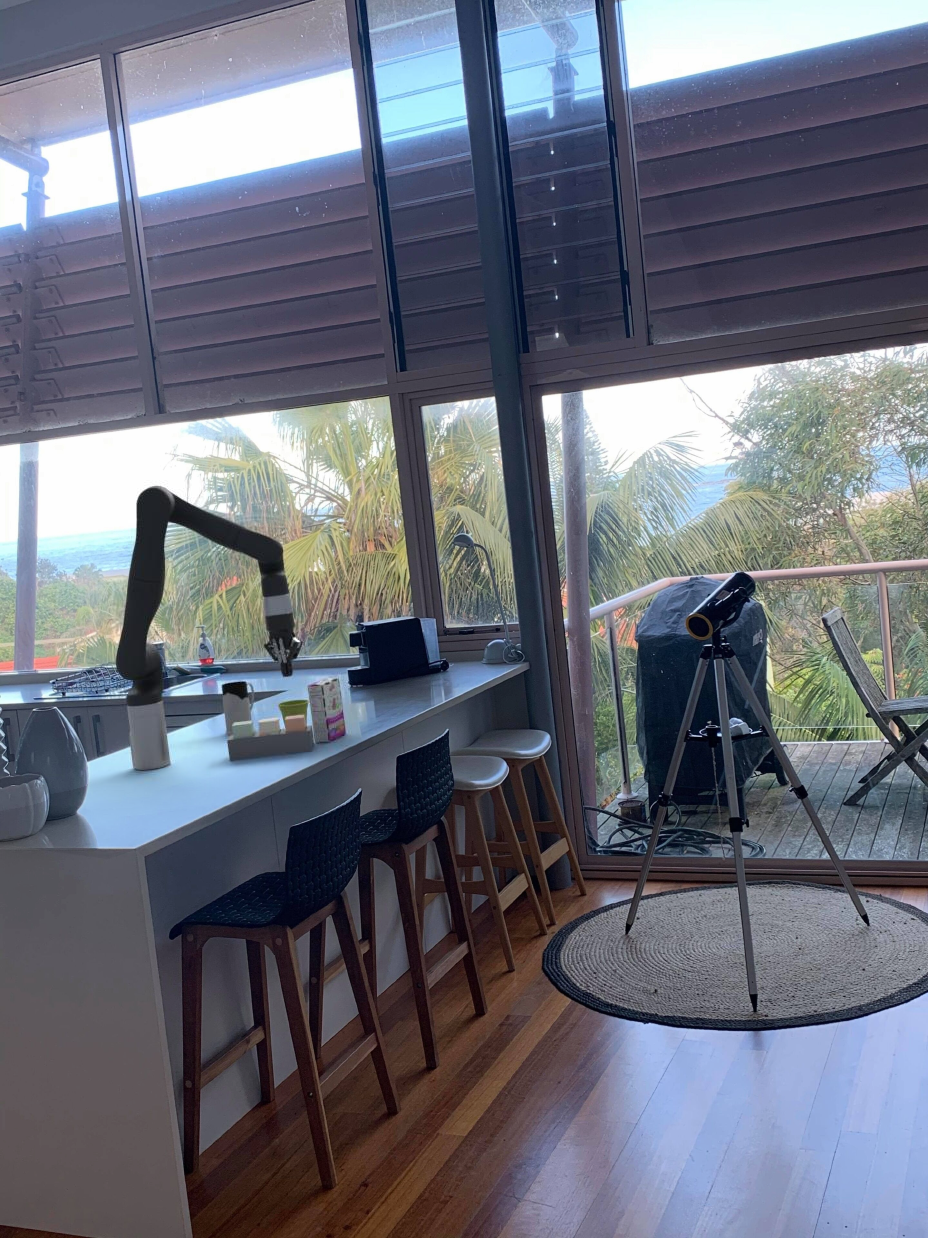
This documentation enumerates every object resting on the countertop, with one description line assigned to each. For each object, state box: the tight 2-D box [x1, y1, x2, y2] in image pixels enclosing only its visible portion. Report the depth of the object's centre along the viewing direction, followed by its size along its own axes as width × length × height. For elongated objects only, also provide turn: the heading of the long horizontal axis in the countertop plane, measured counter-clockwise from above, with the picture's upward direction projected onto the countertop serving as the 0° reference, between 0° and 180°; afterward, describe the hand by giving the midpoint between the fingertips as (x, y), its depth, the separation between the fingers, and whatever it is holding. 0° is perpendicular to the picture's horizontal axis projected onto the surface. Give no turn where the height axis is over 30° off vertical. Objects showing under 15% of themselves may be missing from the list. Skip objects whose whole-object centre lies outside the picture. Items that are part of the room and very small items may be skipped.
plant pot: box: [277, 699, 310, 729], centre depth 338 cm, size 9×9×9 cm
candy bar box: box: [307, 677, 347, 744], centre depth 319 cm, size 11×5×16 cm, turn 161°
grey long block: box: [226, 724, 315, 762], centre depth 307 cm, size 22×8×6 cm, turn 94°
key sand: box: [257, 716, 281, 735], centre depth 307 cm, size 5×5×5 cm
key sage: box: [232, 719, 255, 739], centre depth 307 cm, size 5×5×5 cm
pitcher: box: [221, 680, 255, 736], centre depth 349 cm, size 9×14×15 cm, turn 158°
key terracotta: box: [284, 714, 306, 733], centre depth 308 cm, size 5×5×5 cm
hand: (287, 676), depth 306 cm, fingers closed
